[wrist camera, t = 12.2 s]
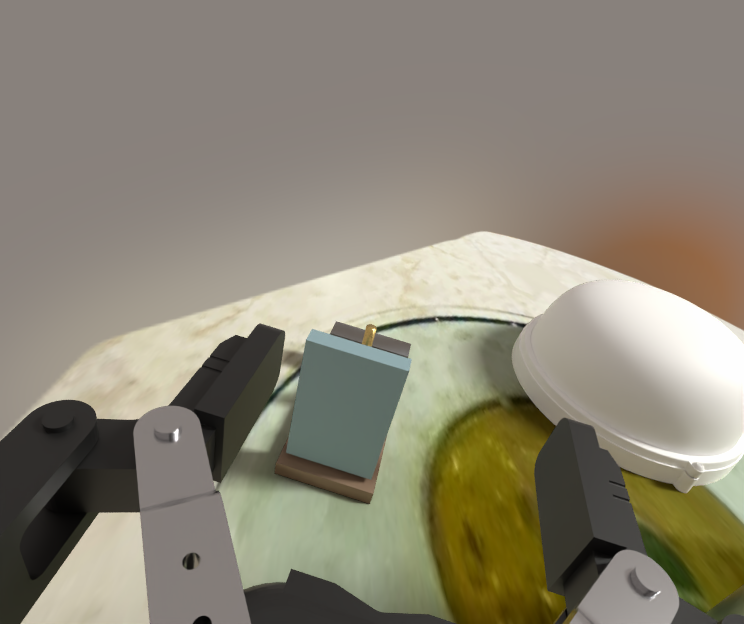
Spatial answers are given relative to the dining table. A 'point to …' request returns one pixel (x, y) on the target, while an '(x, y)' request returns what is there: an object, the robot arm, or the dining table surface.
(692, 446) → the dome cover
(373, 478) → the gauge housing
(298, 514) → the dining table surface
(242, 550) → the dining table surface
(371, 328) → the gold upright bar
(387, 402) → the blue-grey rectangular panel
